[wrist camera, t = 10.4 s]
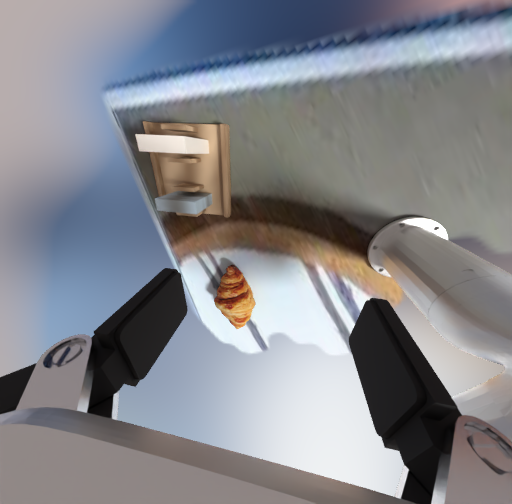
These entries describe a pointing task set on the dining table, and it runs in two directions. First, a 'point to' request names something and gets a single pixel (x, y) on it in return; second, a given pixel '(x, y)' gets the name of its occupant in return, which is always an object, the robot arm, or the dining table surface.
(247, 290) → the croissant
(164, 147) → the low beige gift box
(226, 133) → the dish rack
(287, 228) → the dining table surface
